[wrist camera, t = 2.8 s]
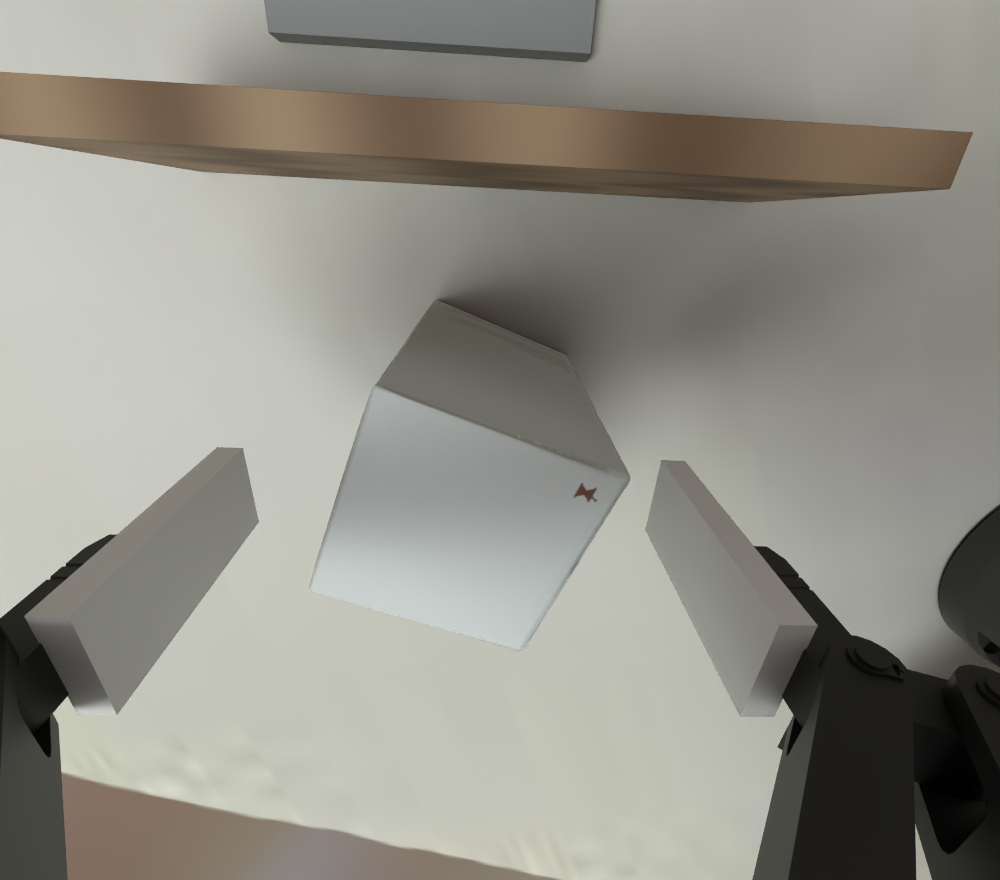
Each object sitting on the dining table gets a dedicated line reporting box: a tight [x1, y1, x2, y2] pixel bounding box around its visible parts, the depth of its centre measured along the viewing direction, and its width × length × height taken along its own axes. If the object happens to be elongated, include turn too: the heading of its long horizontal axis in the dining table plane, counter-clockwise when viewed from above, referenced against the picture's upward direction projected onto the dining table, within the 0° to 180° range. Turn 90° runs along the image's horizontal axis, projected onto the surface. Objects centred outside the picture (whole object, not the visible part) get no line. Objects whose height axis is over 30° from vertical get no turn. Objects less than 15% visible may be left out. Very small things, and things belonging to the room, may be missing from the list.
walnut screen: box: [0, 72, 973, 202], centre depth 16 cm, size 24×1×10 cm, turn 87°
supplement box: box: [309, 301, 630, 652], centre depth 19 cm, size 7×7×13 cm
